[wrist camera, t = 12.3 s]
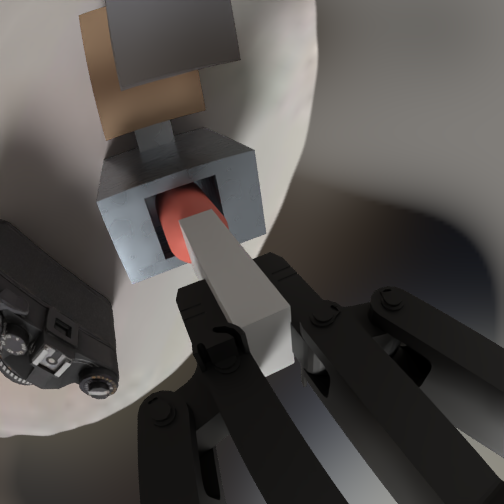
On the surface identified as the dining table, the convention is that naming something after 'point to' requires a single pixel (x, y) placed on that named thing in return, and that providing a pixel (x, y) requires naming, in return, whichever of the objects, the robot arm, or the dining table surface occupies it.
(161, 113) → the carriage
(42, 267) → the camera
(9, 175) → the dining table surface
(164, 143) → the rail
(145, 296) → the dining table surface
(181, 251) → the plunger
